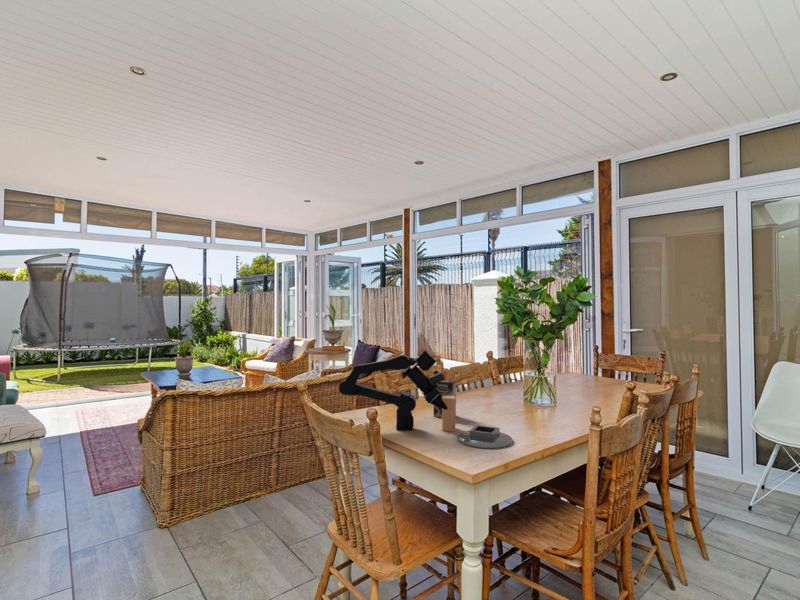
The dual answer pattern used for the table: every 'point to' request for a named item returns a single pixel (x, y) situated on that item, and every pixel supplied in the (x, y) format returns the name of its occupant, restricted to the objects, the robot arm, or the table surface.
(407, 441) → the table surface
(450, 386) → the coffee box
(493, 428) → the grey disc base
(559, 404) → the table surface
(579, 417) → the table surface
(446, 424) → the tan wooden block
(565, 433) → the table surface
